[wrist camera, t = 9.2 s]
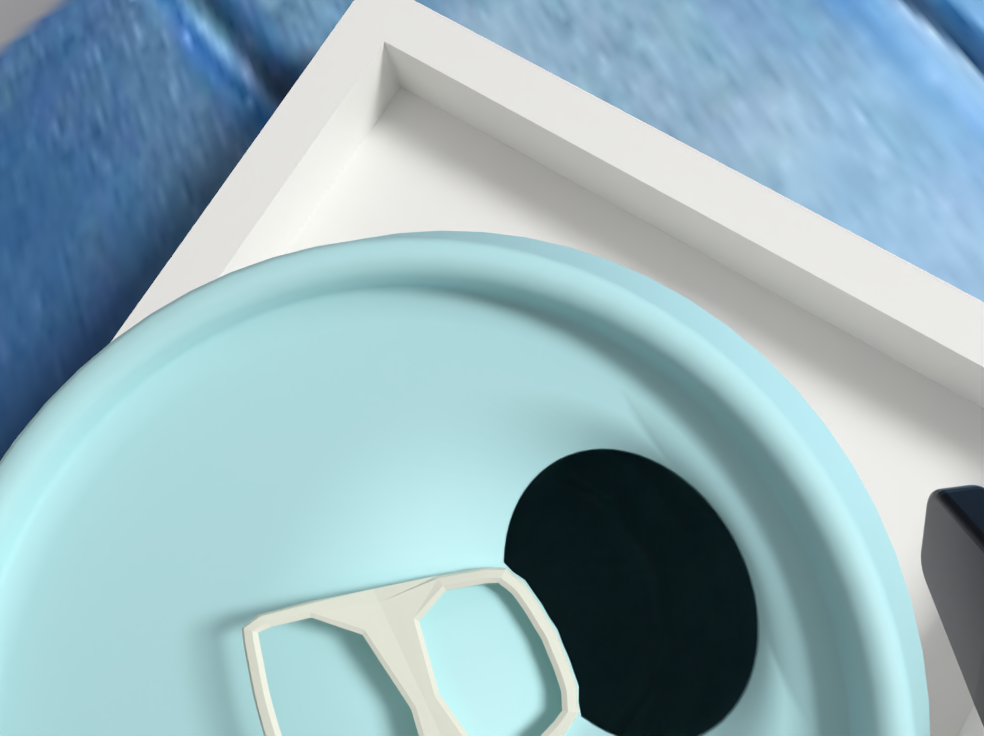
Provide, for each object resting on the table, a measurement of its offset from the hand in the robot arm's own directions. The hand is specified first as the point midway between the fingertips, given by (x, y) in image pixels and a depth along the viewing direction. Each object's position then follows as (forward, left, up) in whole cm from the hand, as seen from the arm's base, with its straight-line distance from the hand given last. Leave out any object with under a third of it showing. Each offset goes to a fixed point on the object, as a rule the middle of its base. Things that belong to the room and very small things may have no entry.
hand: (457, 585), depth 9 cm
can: (0, 0, -8) cm, 8 cm away
